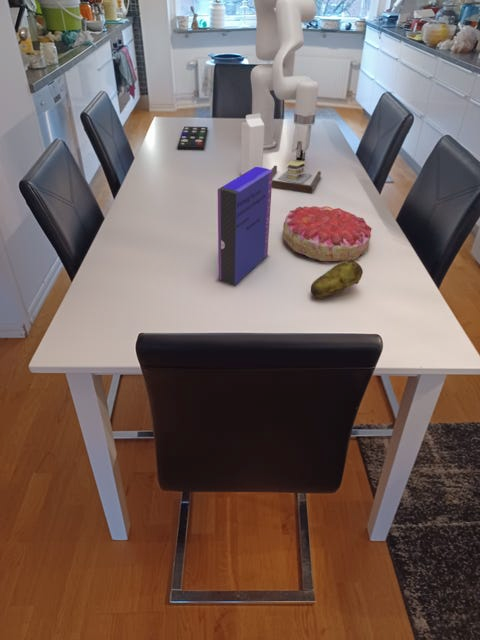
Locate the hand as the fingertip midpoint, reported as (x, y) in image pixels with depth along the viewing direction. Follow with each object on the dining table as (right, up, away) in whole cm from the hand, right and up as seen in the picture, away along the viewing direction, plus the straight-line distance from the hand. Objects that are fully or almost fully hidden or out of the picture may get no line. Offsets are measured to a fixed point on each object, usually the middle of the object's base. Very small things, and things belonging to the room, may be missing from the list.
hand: (299, 169), depth 178 cm
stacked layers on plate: (-2, -4, -3) cm, 6 cm away
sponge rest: (-4, -7, -7) cm, 10 cm away
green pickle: (0, -52, -65) cm, 83 cm away
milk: (-19, -4, -3) cm, 19 cm away
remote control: (-44, +24, +32) cm, 59 cm away
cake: (+1, -36, -44) cm, 57 cm away
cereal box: (-22, -45, -56) cm, 75 cm away
